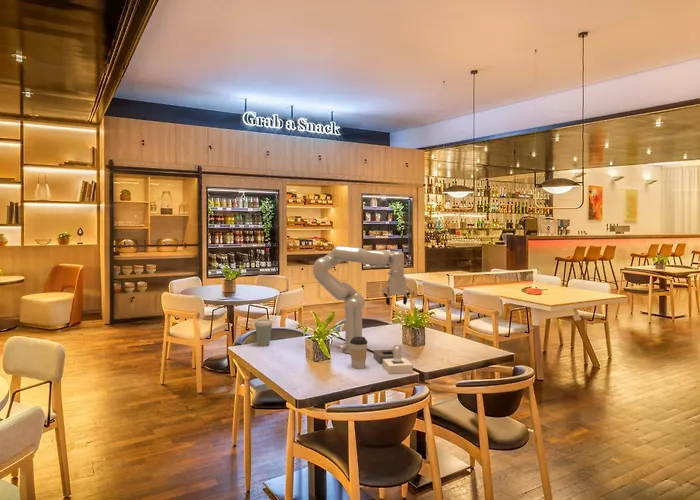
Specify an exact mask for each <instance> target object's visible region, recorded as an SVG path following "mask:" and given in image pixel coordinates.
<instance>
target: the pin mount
mask: <svg viewBox="0 0 700 500" xmlns="http://www.w3.org/2000/svg"><path fill="white" fill-rule="evenodd" d="M393 351H394V348H393V349H392V348H391V349H377V350H376V349H375V350H373V359H374V360H375V361H376V362H377V363H378V364H379V365H383V359H393ZM401 358H403V357H402V354H401Z"/></svg>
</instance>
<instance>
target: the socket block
mask: <svg viewBox="0 0 700 500" xmlns="http://www.w3.org/2000/svg"><path fill="white" fill-rule="evenodd" d="M413 365H414V364H412V362H410V361H409V360H408V359H407V358H405V357H402V358H401V363H400V364H393V359H383V364H381V366H382V368H383V369H384V370H385V371H386V372H387V373H388V374H389V375H397V374H398V375H400V374H413V372H414V371H413V370H414V369H413V367H414V366H413Z"/></svg>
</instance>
